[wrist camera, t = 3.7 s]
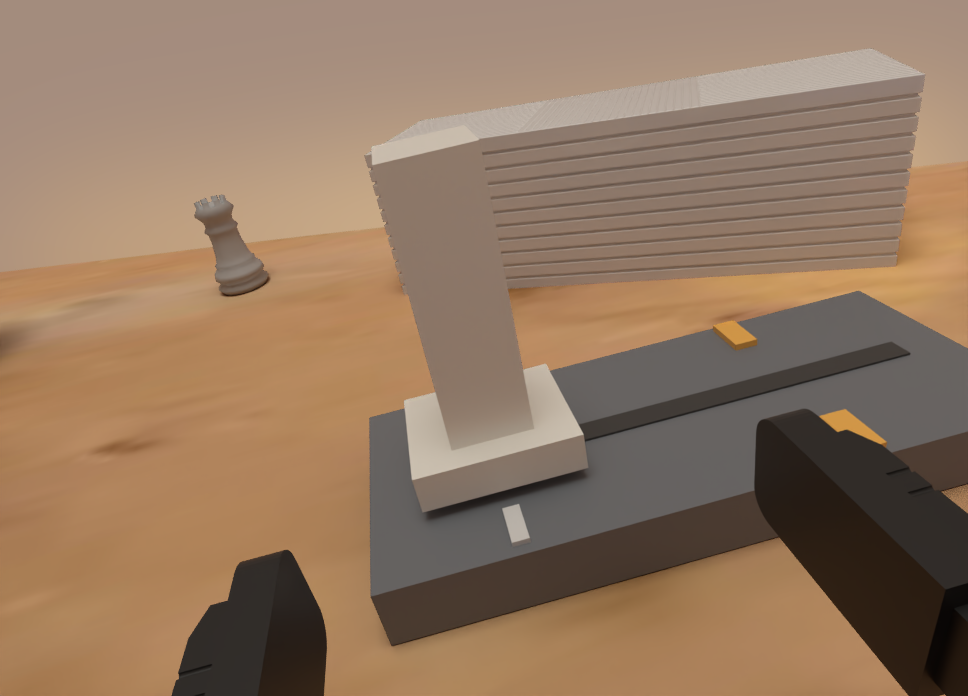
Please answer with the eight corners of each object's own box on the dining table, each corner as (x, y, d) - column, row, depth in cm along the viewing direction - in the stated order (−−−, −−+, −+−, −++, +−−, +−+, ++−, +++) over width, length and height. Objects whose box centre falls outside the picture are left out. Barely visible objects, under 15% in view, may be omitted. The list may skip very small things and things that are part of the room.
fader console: (391, 645, 20) (367, 590, 19) (384, 459, 29) (367, 412, 28) (1050, 459, 22) (1072, 395, 20) (853, 335, 30) (859, 285, 29)
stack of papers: (404, 297, 46) (364, 154, 41) (448, 243, 55) (420, 120, 49) (895, 270, 36) (925, 73, 30) (854, 209, 44) (872, 47, 39)
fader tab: (422, 512, 21) (314, 186, 15) (413, 429, 25) (326, 151, 20) (588, 467, 21) (541, 132, 16) (550, 393, 26) (503, 110, 20)
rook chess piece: (235, 278, 57) (199, 195, 53) (278, 272, 56) (245, 187, 52) (211, 299, 53) (171, 212, 49) (257, 293, 52) (220, 203, 48)
